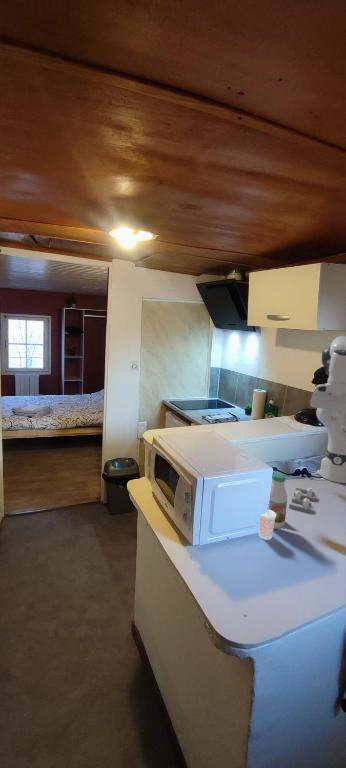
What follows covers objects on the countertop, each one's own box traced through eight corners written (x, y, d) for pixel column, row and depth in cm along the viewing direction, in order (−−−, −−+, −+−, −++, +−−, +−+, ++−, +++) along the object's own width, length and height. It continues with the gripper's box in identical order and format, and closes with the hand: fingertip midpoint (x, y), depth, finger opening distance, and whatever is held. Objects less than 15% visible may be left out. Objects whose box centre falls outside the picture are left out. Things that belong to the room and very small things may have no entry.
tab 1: (295, 497, 160) (296, 489, 160) (300, 499, 160) (301, 490, 159) (294, 500, 158) (295, 491, 157) (299, 501, 157) (300, 493, 156)
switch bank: (295, 490, 171) (296, 485, 170) (316, 495, 166) (316, 490, 166) (286, 512, 149) (287, 506, 149) (309, 518, 145) (310, 512, 145)
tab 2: (303, 506, 153) (304, 497, 153) (308, 507, 152) (309, 498, 152) (302, 509, 151) (303, 499, 150) (307, 510, 150) (308, 501, 149)
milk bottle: (259, 520, 142) (264, 472, 139) (275, 517, 145) (280, 470, 142) (272, 531, 135) (278, 481, 132) (288, 527, 138) (294, 478, 135)
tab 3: (307, 494, 164) (308, 486, 163) (311, 496, 163) (312, 487, 162) (306, 497, 161) (307, 488, 161) (311, 498, 160) (312, 490, 160)
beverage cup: (256, 539, 129) (260, 502, 127) (256, 530, 135) (260, 495, 133) (274, 542, 128) (278, 505, 126) (273, 533, 134) (277, 497, 132)
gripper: (365, 390, 151) (360, 422, 153) (313, 384, 160) (309, 415, 163) (365, 393, 146) (360, 426, 148) (311, 386, 155) (308, 418, 157)
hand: (333, 420), depth 155 cm, fingers closed
